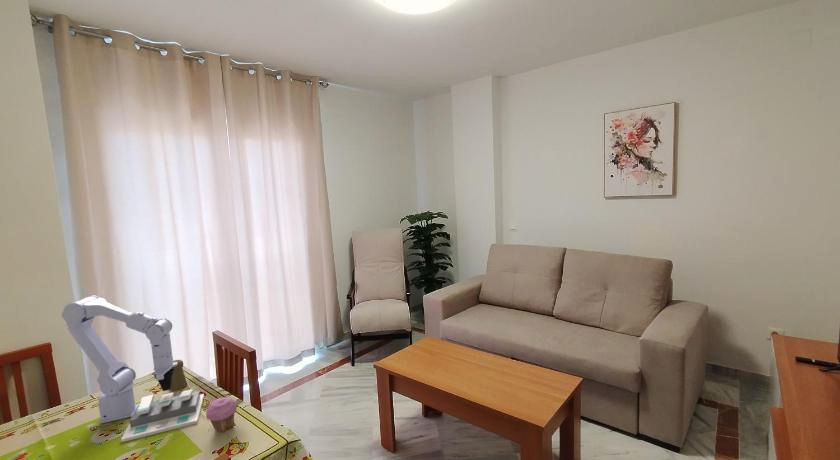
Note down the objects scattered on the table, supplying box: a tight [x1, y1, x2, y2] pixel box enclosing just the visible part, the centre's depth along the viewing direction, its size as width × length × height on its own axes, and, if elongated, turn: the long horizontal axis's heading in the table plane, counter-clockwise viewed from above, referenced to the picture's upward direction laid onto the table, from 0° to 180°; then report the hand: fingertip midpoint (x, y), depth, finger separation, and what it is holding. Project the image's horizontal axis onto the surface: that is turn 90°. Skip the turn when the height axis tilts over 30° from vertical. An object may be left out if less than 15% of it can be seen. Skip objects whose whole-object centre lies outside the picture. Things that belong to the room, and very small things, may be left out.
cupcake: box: [205, 396, 238, 433], centre depth 123 cm, size 9×9×10 cm
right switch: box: [178, 388, 194, 402], centre depth 134 cm, size 3×8×2 cm, turn 23°
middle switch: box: [158, 391, 175, 408], centre depth 132 cm, size 3×8×2 cm, turn 23°
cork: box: [169, 359, 188, 392], centre depth 150 cm, size 6×6×11 cm
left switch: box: [137, 394, 155, 415], centre depth 129 cm, size 3×8×2 cm, turn 24°
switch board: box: [120, 390, 205, 443], centre depth 130 cm, size 21×18×4 cm
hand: (167, 389), depth 135 cm, fingers closed
